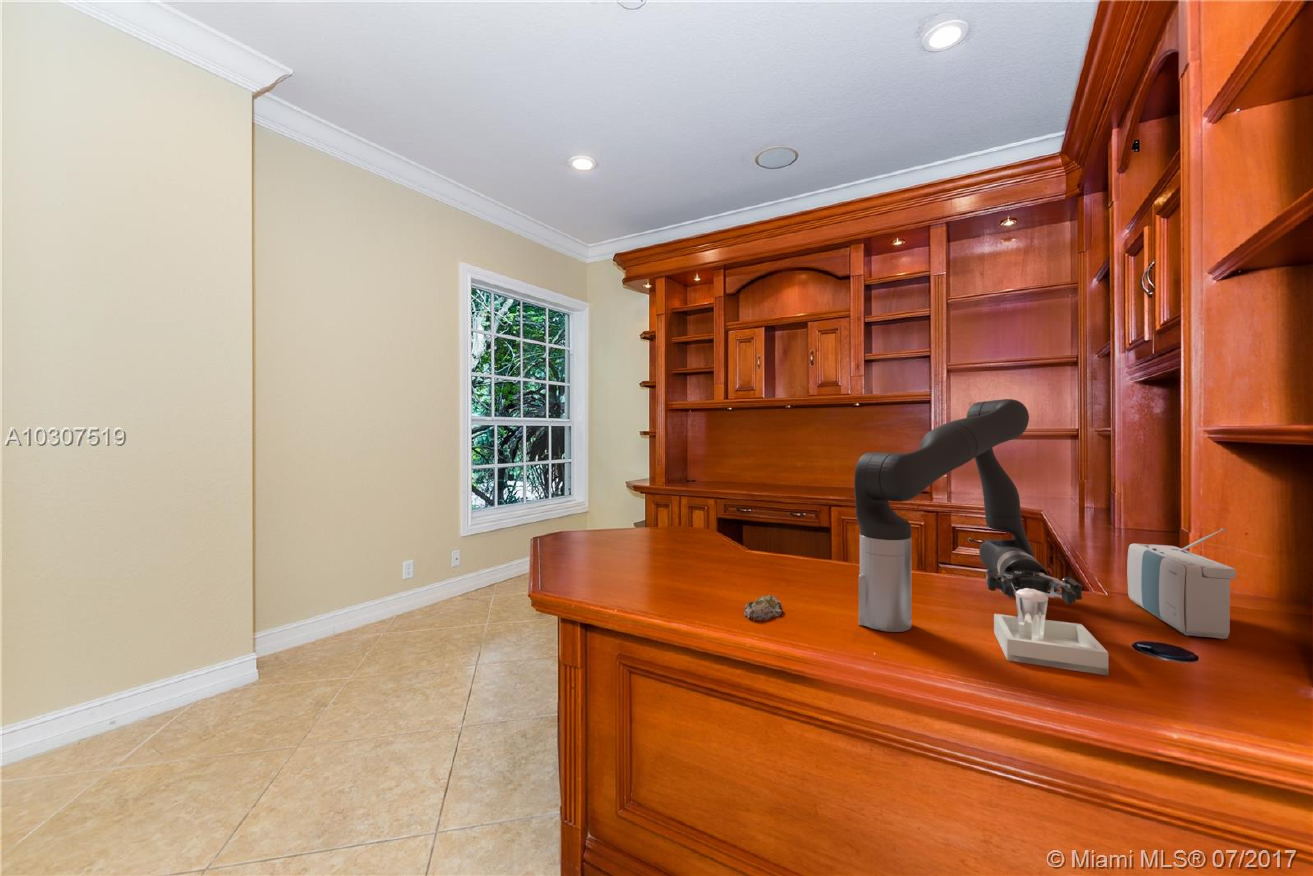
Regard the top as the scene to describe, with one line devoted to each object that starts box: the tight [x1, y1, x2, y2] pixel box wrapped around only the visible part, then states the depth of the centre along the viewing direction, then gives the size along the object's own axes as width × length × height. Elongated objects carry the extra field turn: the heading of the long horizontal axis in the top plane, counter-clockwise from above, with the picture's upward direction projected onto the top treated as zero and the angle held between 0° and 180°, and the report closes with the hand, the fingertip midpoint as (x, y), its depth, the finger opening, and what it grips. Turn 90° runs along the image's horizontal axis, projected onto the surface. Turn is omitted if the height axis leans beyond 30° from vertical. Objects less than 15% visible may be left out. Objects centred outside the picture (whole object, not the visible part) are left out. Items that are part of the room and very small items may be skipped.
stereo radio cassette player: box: [1126, 527, 1237, 640], centre depth 103 cm, size 21×8×20 cm, turn 158°
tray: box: [993, 613, 1109, 676], centre depth 89 cm, size 13×13×4 cm
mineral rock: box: [743, 594, 783, 622], centre depth 109 cm, size 11×4×8 cm
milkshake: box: [1011, 583, 1049, 642], centre depth 90 cm, size 4×5×10 cm
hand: (1040, 595), depth 92 cm, fingers open, 8 cm apart
